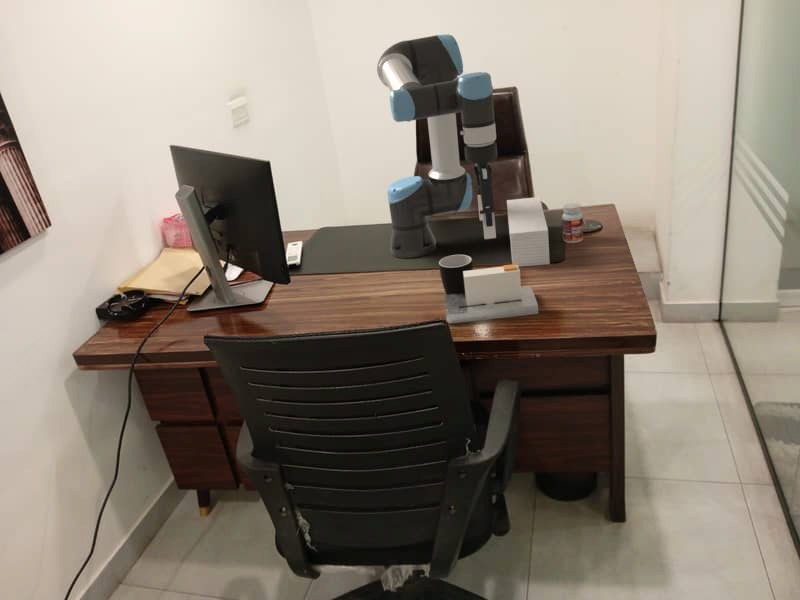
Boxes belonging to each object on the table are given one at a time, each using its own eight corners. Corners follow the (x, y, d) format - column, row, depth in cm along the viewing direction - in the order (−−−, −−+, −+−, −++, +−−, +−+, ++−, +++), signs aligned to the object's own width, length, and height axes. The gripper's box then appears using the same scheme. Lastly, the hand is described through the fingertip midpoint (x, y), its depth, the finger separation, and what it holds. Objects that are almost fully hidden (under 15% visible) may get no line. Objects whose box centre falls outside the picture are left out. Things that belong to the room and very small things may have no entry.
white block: (466, 305, 176) (462, 269, 172) (520, 299, 175) (517, 262, 171) (467, 311, 173) (463, 275, 168) (522, 305, 171) (519, 268, 167)
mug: (473, 301, 179) (469, 266, 175) (440, 302, 182) (436, 268, 178) (478, 282, 190) (475, 249, 186) (447, 283, 192) (443, 251, 188)
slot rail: (445, 303, 181) (444, 295, 180) (531, 293, 179) (530, 285, 178) (447, 324, 170) (446, 315, 169) (538, 313, 168) (537, 304, 167)
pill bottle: (574, 245, 205) (572, 210, 200) (558, 241, 210) (557, 206, 205) (587, 239, 208) (586, 204, 203) (572, 235, 213) (571, 201, 208)
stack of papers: (509, 230, 225) (506, 200, 221) (541, 227, 224) (539, 196, 219) (512, 268, 197) (510, 233, 192) (549, 264, 195) (547, 230, 190)
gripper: (460, 133, 168) (468, 214, 177) (467, 157, 145) (476, 248, 154) (490, 129, 167) (497, 210, 176) (502, 153, 145) (509, 244, 154)
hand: (487, 228), depth 165 cm, fingers open, 13 cm apart
